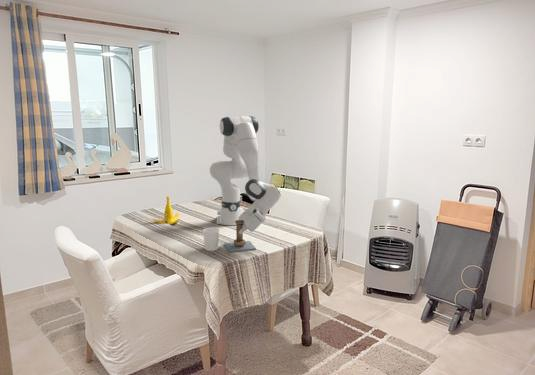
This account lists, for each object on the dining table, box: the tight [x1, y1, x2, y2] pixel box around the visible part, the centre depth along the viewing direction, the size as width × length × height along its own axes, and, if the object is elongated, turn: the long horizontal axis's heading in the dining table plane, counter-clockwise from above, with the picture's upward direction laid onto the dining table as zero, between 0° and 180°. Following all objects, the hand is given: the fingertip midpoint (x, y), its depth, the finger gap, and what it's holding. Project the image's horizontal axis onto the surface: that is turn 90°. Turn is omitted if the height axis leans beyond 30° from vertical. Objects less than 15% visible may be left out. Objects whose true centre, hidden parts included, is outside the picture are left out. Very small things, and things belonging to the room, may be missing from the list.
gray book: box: [223, 240, 257, 253], centre depth 202 cm, size 12×14×1 cm
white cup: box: [202, 227, 220, 252], centre depth 199 cm, size 8×8×10 cm
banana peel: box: [151, 195, 179, 225], centre depth 249 cm, size 17×19×17 cm
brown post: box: [233, 220, 246, 246], centre depth 201 cm, size 6×6×12 cm
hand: (238, 231), depth 201 cm, fingers closed on brown post, 3 cm apart
